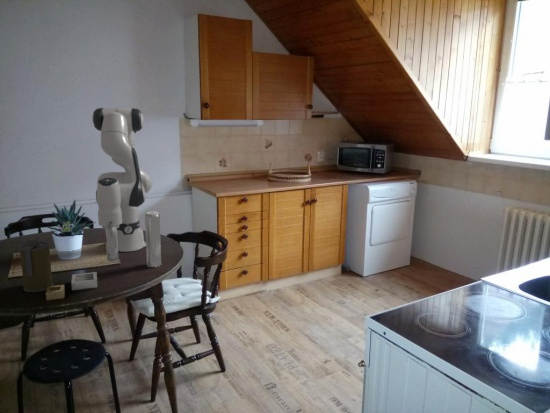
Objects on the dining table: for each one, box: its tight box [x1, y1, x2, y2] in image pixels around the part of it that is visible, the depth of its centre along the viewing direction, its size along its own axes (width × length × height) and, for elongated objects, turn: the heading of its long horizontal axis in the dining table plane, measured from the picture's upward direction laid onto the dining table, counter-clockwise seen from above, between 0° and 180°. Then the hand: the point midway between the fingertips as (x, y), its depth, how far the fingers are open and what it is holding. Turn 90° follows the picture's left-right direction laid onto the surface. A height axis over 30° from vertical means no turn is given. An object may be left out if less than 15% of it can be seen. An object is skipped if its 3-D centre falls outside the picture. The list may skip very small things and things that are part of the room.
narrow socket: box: [45, 284, 66, 301], centre depth 161 cm, size 6×6×3 cm
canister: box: [18, 236, 54, 293], centre depth 166 cm, size 11×10×20 cm
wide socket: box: [71, 271, 98, 291], centre depth 172 cm, size 9×9×3 cm
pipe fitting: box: [105, 242, 120, 262], centre depth 172 cm, size 5×5×7 cm
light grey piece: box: [144, 210, 162, 268], centre depth 192 cm, size 6×6×25 cm
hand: (112, 252), depth 172 cm, fingers closed on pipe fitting, 4 cm apart
